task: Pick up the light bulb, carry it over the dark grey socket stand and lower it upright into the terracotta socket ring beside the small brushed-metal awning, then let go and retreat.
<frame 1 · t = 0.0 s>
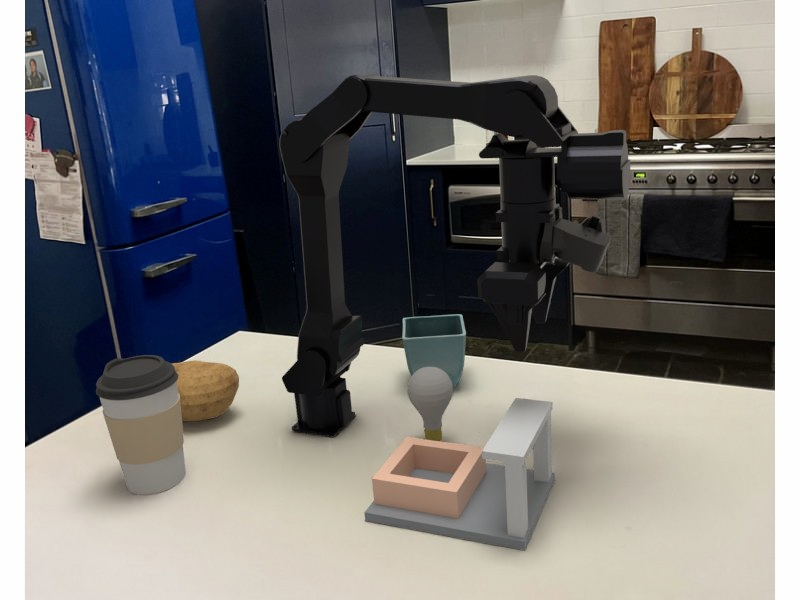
hand: (531, 336, 87), 15 cm above the counter, fingers open, 9 cm apart
flower pot: (437, 384, 112), on the counter
potato: (194, 419, 107), on the counter
light bulb: (434, 444, 95), on the counter
coffee cup: (156, 480, 92), on the counter
socket stand: (432, 495, 84), on the counter
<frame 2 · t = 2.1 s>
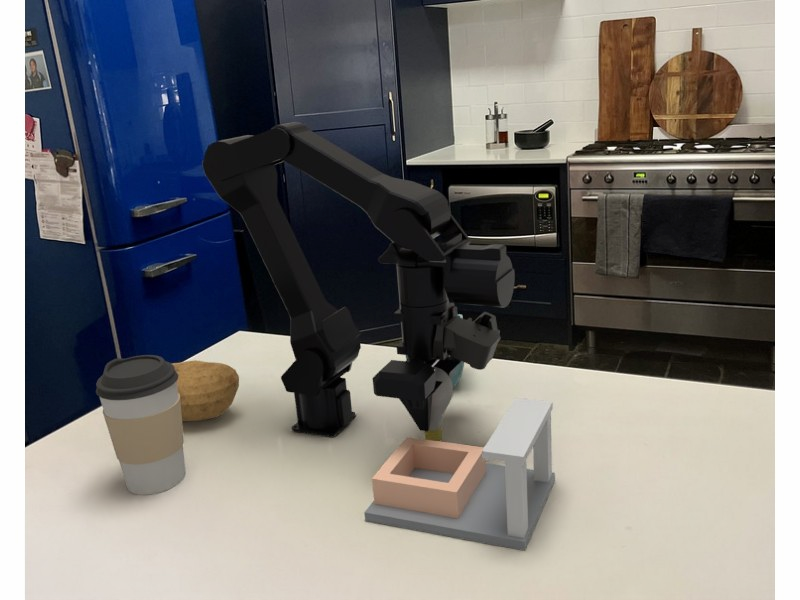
hand: (432, 421, 94), 3 cm above the counter, fingers closed on light bulb, 5 cm apart
light bulb: (434, 444, 95), on the counter, touching gripper
everything else where it was.
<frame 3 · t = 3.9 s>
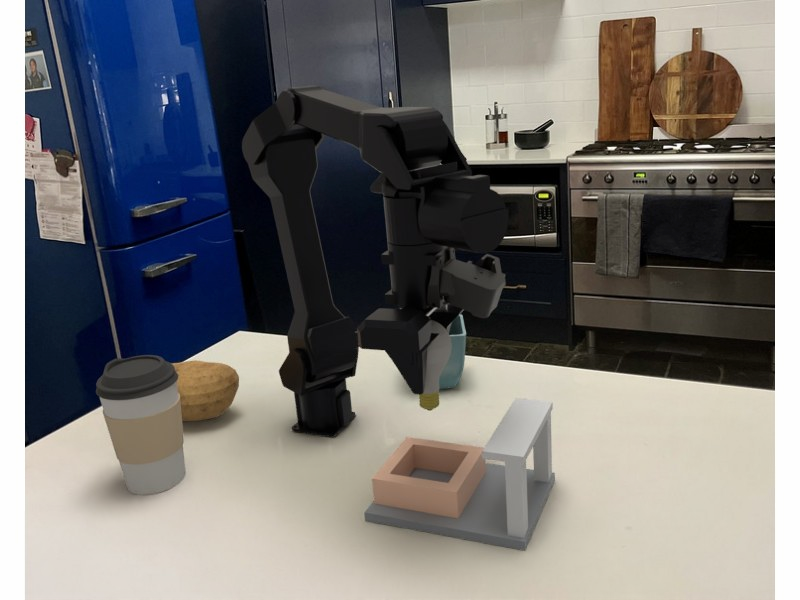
hand: (427, 383, 81), 13 cm above the counter, fingers closed on light bulb, 5 cm apart
light bulb: (430, 411, 82), point 10 cm above the counter, touching gripper
everything else where it was.
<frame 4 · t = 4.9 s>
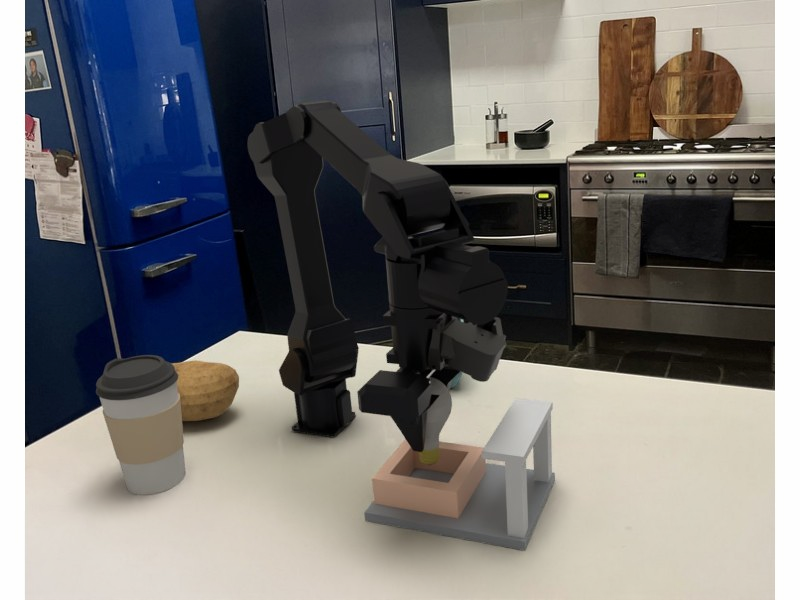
hand: (427, 439, 82), 7 cm above the counter, fingers closed on light bulb, 5 cm apart
light bulb: (430, 465, 83), point 4 cm above the counter, touching gripper
everything else where it was.
when the fingers open (5 cm above the counter, at t = 5.6 s): light bulb stays where it is, resting on socket stand.
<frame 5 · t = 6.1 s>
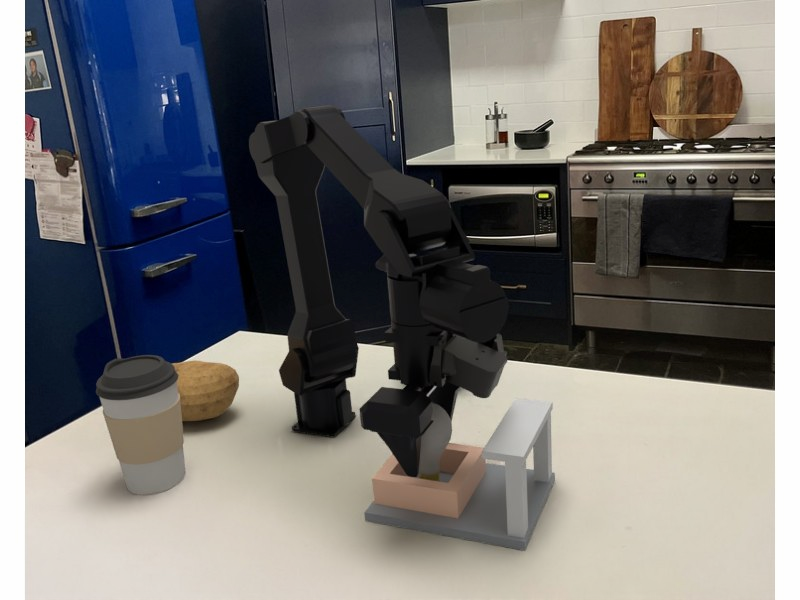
hand: (429, 454, 82), 5 cm above the counter, fingers open, 9 cm apart
light bulb: (430, 490, 83), point 1 cm above the counter, touching socket stand
everything else where it was.
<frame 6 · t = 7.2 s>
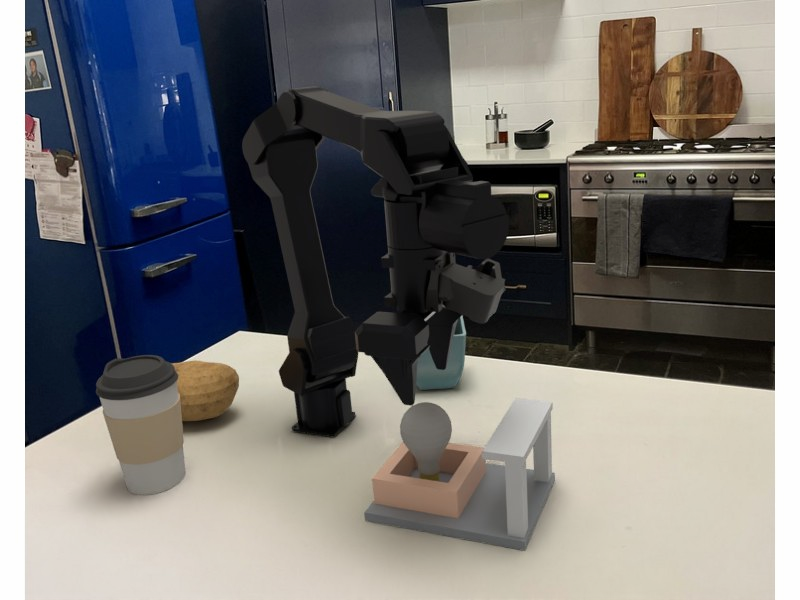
hand: (426, 386, 82), 12 cm above the counter, fingers open, 9 cm apart
nothing on the counter moved.
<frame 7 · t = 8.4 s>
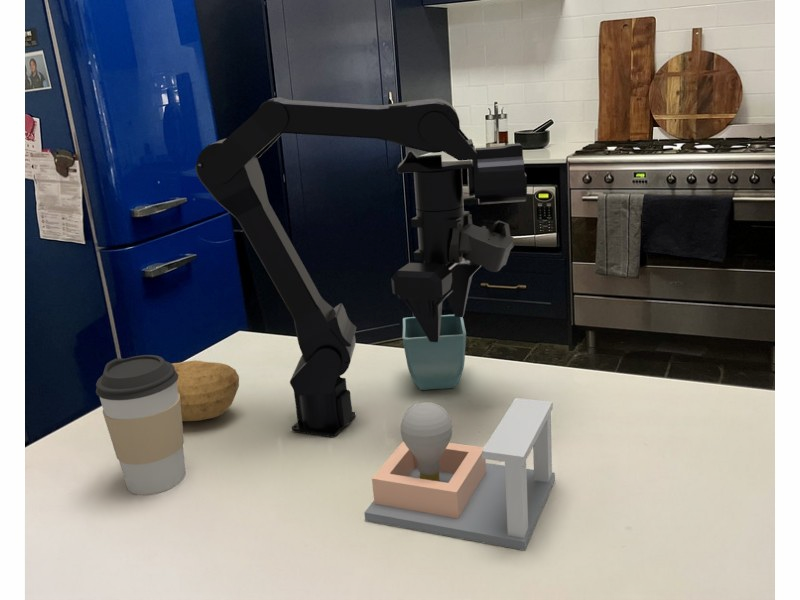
hand: (447, 328, 97), 12 cm above the counter, fingers open, 9 cm apart
nothing on the counter moved.
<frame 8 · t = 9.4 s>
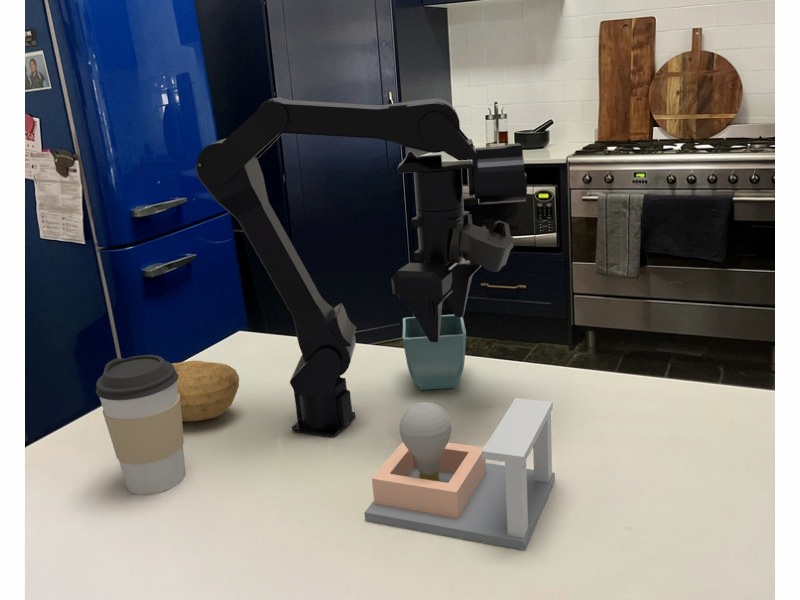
hand: (447, 328, 97), 12 cm above the counter, fingers open, 9 cm apart
nothing on the counter moved.
at the end: light bulb 0.3 cm off-centre on the socket stand, point 0.8 cm above the socket stand's base; light bulb tilted 1°; the gripper is holding nothing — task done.
